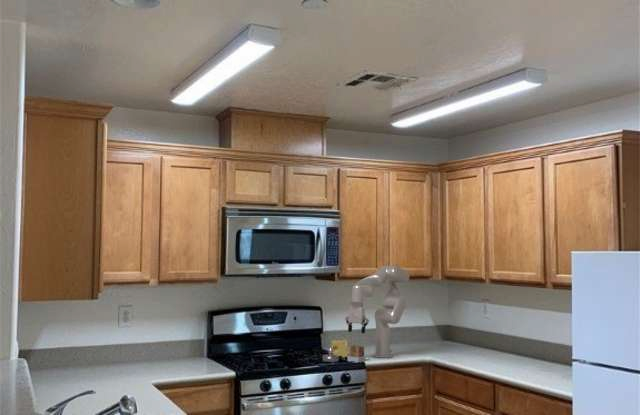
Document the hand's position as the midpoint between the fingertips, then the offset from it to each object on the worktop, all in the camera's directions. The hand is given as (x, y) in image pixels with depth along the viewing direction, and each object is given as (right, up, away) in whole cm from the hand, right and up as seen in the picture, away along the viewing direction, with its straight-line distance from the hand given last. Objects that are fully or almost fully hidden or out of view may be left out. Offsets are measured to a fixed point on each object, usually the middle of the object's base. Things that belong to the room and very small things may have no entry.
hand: (356, 332), depth 387 cm
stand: (0, -18, -1) cm, 18 cm away
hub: (-16, -17, -3) cm, 24 cm away
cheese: (-10, -19, +17) cm, 28 cm away
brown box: (0, -15, -1) cm, 15 cm away
